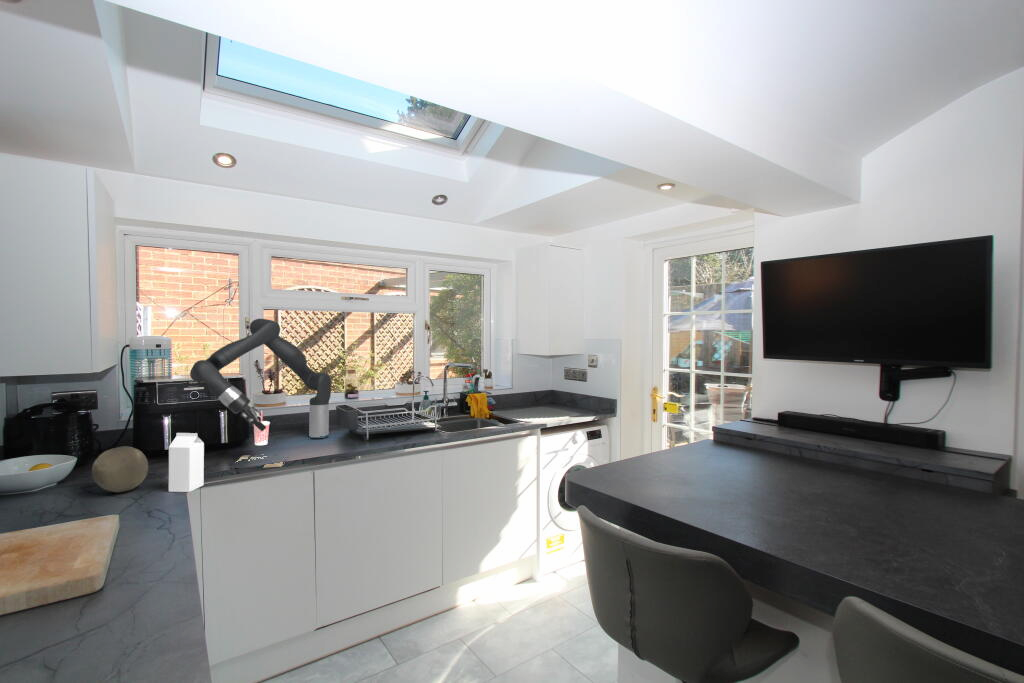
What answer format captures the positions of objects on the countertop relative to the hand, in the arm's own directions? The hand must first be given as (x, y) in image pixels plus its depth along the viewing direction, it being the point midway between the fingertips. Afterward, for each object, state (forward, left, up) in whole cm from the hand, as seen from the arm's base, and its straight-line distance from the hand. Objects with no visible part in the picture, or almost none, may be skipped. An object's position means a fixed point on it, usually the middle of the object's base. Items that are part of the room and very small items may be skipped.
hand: (266, 427), depth 196 cm
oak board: (0, -2, -14) cm, 14 cm away
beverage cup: (0, -2, -7) cm, 7 cm away
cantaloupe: (+30, -38, -14) cm, 50 cm away
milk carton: (+31, -19, -14) cm, 39 cm away
